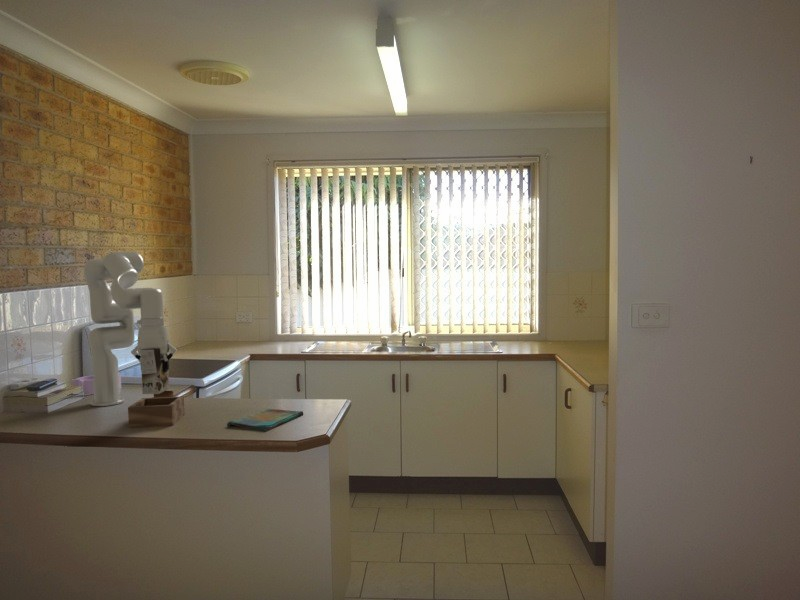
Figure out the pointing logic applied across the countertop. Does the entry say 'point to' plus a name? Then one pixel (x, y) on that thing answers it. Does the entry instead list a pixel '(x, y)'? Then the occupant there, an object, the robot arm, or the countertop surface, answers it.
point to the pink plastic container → (88, 383)
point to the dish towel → (265, 419)
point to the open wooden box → (156, 411)
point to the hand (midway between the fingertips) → (155, 371)
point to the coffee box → (153, 372)
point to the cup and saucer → (164, 394)
